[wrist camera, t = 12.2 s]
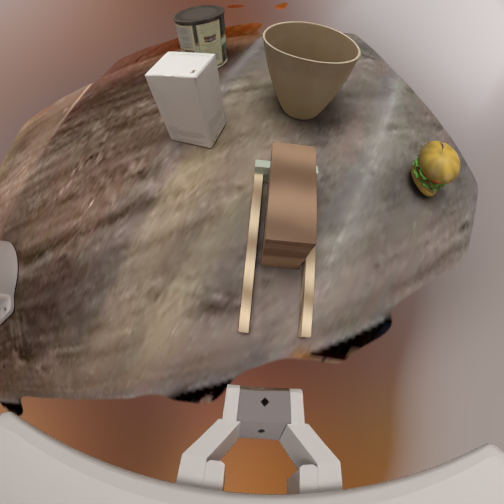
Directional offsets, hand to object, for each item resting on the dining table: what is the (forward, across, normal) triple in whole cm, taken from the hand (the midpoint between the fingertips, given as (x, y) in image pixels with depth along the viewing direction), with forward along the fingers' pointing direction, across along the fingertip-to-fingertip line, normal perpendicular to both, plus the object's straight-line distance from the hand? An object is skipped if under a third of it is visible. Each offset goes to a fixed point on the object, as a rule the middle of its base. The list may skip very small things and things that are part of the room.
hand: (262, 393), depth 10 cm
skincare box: (+41, +13, -6) cm, 44 cm away
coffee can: (+58, +16, -23) cm, 65 cm away
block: (+30, -3, +5) cm, 30 cm away
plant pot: (+47, -5, -12) cm, 49 cm away
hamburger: (+38, -28, -3) cm, 47 cm away
